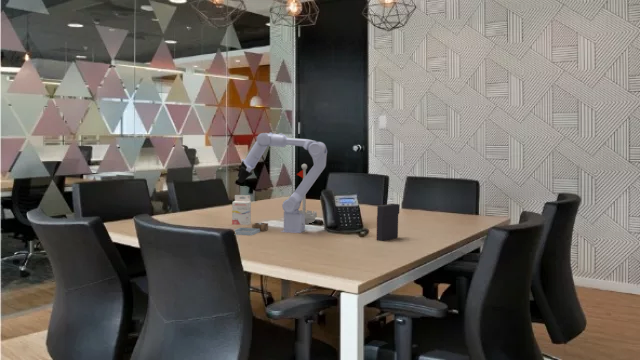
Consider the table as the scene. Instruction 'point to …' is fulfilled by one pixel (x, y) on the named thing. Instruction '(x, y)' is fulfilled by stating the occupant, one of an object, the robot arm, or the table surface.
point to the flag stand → (309, 215)
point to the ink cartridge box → (241, 210)
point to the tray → (252, 230)
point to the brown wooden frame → (260, 226)
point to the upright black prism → (387, 221)
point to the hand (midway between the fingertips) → (239, 179)
